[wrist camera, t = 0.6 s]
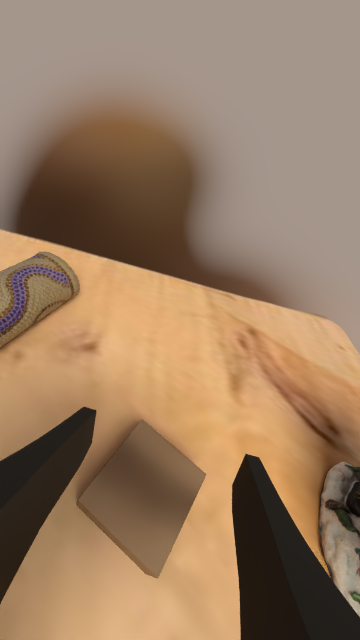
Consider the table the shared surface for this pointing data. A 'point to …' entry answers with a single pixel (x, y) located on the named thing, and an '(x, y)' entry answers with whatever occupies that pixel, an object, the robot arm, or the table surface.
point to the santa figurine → (342, 529)
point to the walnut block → (143, 497)
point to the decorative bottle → (33, 292)
